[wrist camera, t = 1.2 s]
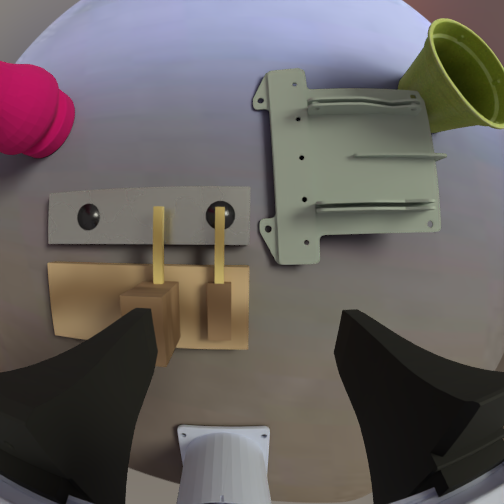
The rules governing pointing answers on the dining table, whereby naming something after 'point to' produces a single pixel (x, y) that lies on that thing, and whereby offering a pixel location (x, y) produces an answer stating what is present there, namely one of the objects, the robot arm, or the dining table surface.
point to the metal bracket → (345, 164)
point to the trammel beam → (130, 275)
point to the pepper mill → (32, 111)
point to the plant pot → (457, 79)
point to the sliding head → (158, 297)
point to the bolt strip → (148, 215)
